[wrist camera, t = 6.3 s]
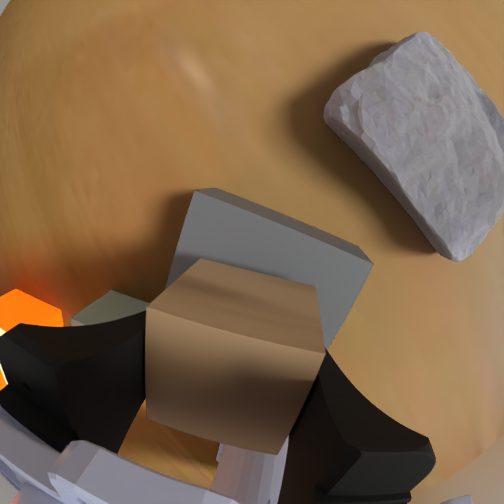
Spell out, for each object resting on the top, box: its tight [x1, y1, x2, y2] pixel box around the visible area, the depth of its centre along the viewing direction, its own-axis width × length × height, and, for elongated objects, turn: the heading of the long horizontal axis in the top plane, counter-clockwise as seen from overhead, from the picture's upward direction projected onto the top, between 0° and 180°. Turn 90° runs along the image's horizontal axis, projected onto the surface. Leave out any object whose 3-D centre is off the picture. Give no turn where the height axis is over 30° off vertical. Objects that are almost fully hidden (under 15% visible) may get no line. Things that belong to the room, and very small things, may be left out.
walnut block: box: [145, 258, 326, 456], centre depth 10 cm, size 5×5×5 cm
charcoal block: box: [165, 188, 374, 349], centre depth 16 cm, size 9×9×4 cm
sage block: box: [71, 290, 150, 326], centre depth 18 cm, size 5×5×5 cm
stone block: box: [323, 32, 504, 262], centre depth 13 cm, size 12×5×10 cm
